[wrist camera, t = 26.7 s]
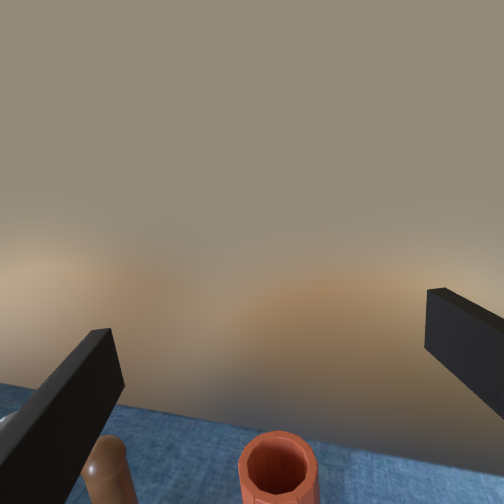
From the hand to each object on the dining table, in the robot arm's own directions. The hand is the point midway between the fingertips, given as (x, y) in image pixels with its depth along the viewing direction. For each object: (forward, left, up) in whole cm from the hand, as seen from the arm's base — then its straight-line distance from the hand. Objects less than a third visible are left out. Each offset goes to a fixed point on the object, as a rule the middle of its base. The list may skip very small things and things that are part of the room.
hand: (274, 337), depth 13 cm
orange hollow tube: (-4, +9, -28) cm, 30 cm away
